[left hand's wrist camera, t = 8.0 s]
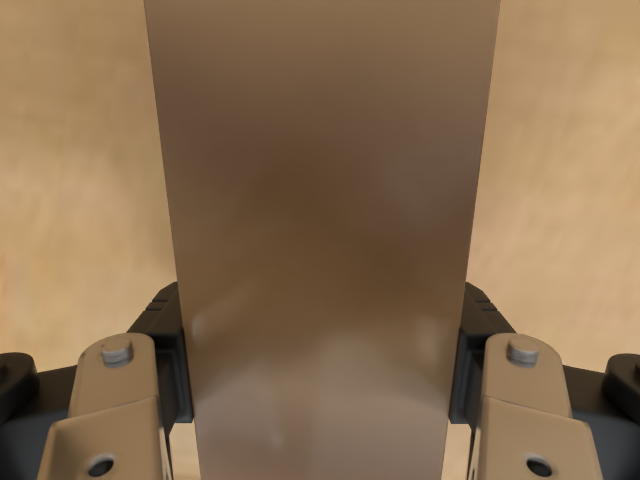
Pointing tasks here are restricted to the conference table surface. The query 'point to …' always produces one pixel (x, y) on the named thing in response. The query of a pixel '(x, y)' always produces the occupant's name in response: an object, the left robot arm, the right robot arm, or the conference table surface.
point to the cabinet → (321, 224)
